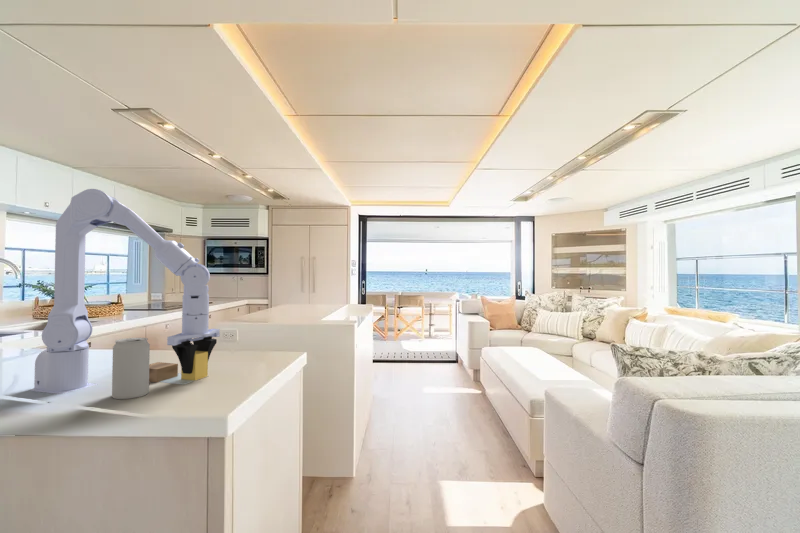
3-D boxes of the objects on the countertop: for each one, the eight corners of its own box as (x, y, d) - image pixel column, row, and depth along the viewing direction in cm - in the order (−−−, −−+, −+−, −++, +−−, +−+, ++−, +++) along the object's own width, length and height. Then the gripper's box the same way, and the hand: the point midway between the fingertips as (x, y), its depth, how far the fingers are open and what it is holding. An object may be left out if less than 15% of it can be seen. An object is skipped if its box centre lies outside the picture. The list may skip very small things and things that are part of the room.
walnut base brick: (136, 380, 96) (136, 367, 96) (157, 374, 102) (158, 362, 102) (156, 382, 94) (157, 369, 94) (177, 376, 100) (177, 363, 100)
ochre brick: (181, 379, 97) (181, 353, 98) (194, 375, 101) (194, 350, 101) (195, 380, 96) (195, 354, 96) (207, 376, 100) (207, 351, 100)
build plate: (141, 382, 96) (141, 380, 96) (169, 374, 104) (169, 372, 104) (183, 386, 93) (183, 384, 93) (209, 378, 101) (209, 375, 101)
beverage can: (121, 404, 80) (122, 342, 81) (105, 398, 84) (107, 339, 84) (154, 396, 86) (156, 338, 86) (139, 391, 89) (140, 335, 89)
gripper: (185, 317, 91) (184, 379, 91) (230, 312, 105) (229, 365, 105) (160, 316, 93) (159, 377, 93) (207, 311, 107) (206, 363, 107)
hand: (194, 371), depth 99 cm, fingers closed on ochre brick, 4 cm apart
